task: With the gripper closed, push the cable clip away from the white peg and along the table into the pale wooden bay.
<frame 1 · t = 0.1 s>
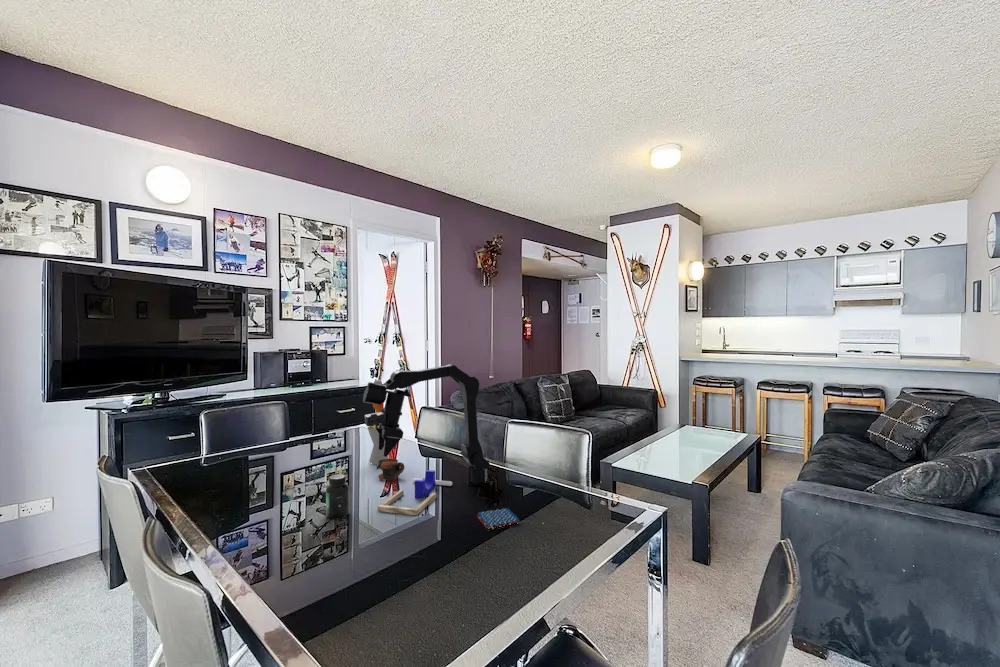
hand: (382, 453, 158), 15 cm above the table, tool pointing down, fingers open, 9 cm apart
woven mat: (497, 523, 139), on the table
cable clip: (423, 493, 164), on the table
pottery mug: (390, 477, 180), on the table
white peg: (432, 484, 172), on the table
supplement bottle: (338, 515, 144), on the table
wooden bay: (408, 503, 153), on the table
lava lamp: (379, 462, 201), on the table
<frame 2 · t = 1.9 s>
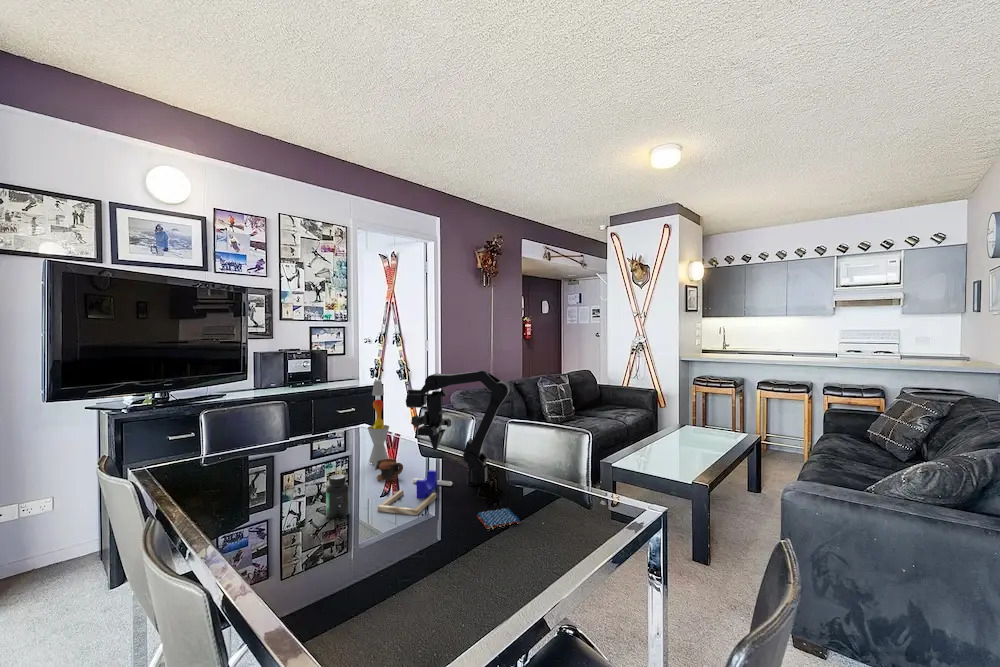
hand: (435, 449, 174), 12 cm above the table, tool pointing down, fingers closed
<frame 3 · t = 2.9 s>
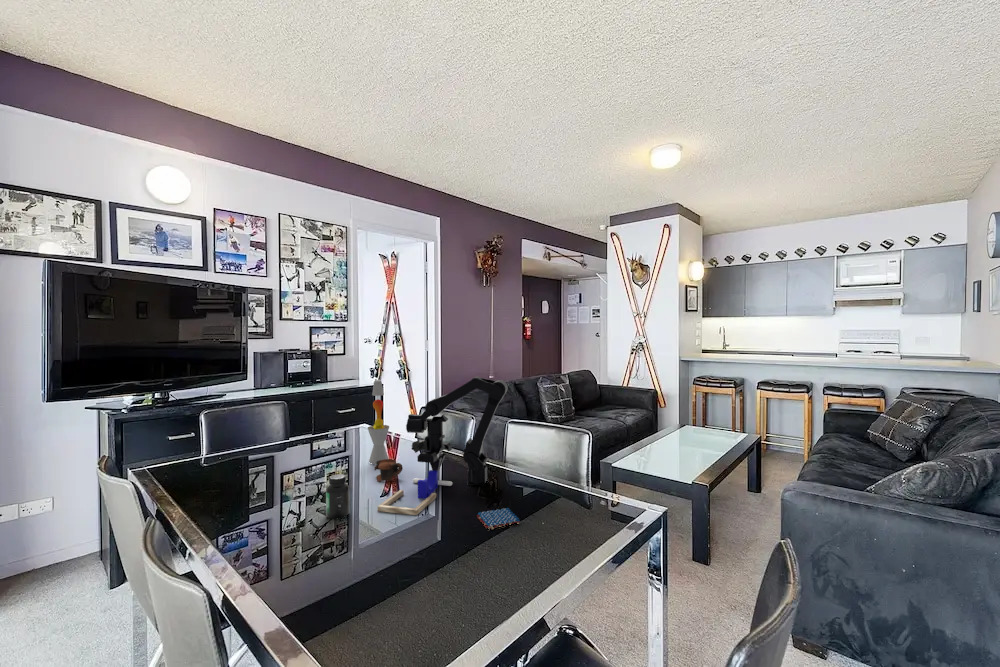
hand: (435, 474, 174), 3 cm above the table, tool pointing down, fingers closed
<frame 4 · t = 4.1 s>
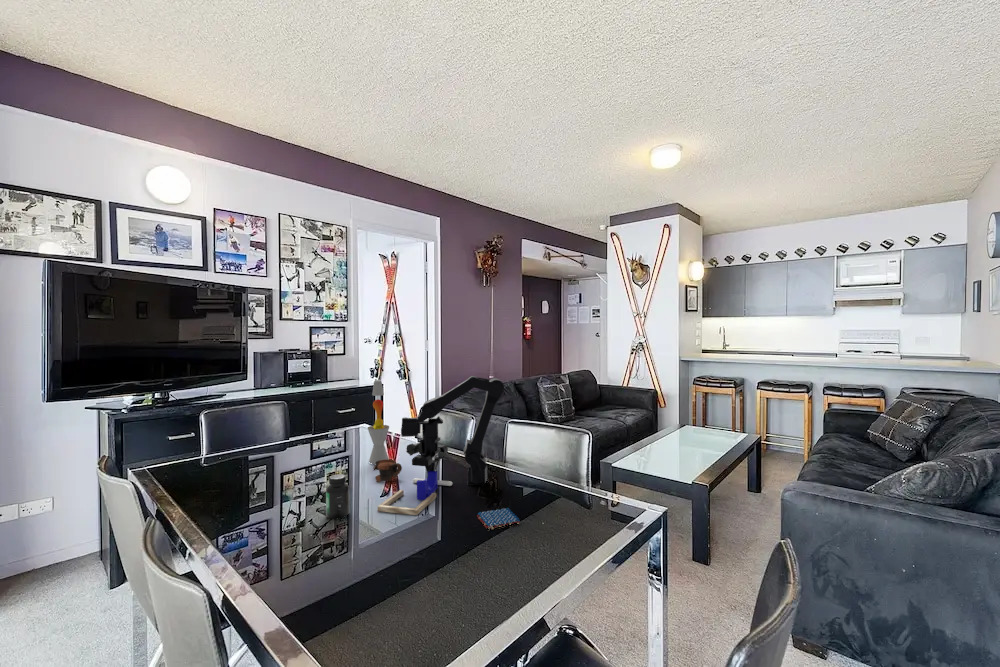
hand: (431, 478, 171), 3 cm above the table, tool pointing down, fingers closed
cable clip: (425, 493, 162), on the table, touching gripper
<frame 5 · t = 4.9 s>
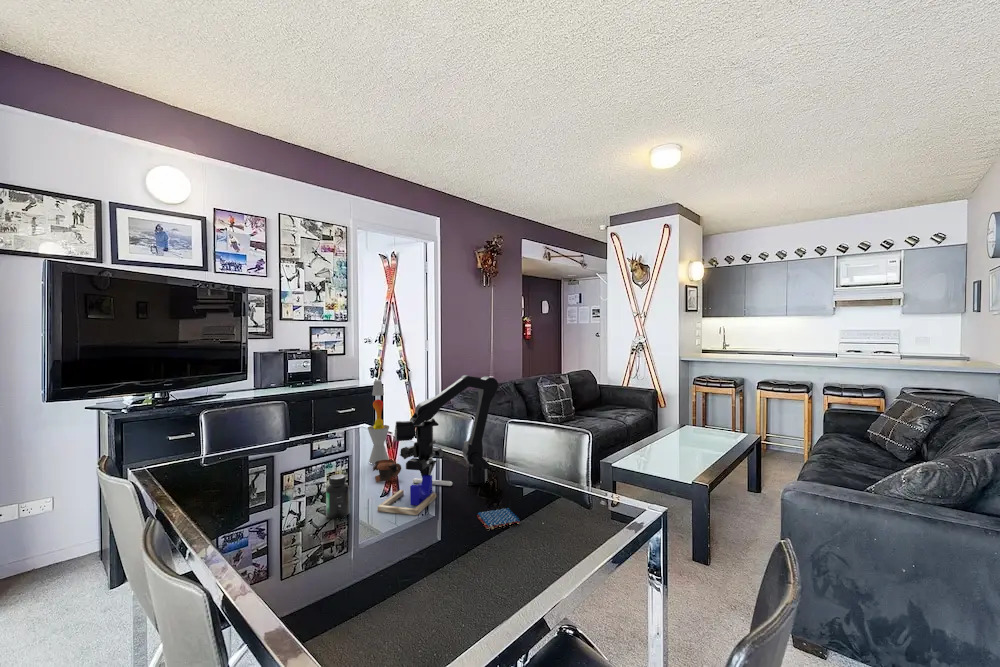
hand: (425, 482, 166), 3 cm above the table, tool pointing down, fingers closed
cable clip: (419, 498, 158), on the table, touching gripper
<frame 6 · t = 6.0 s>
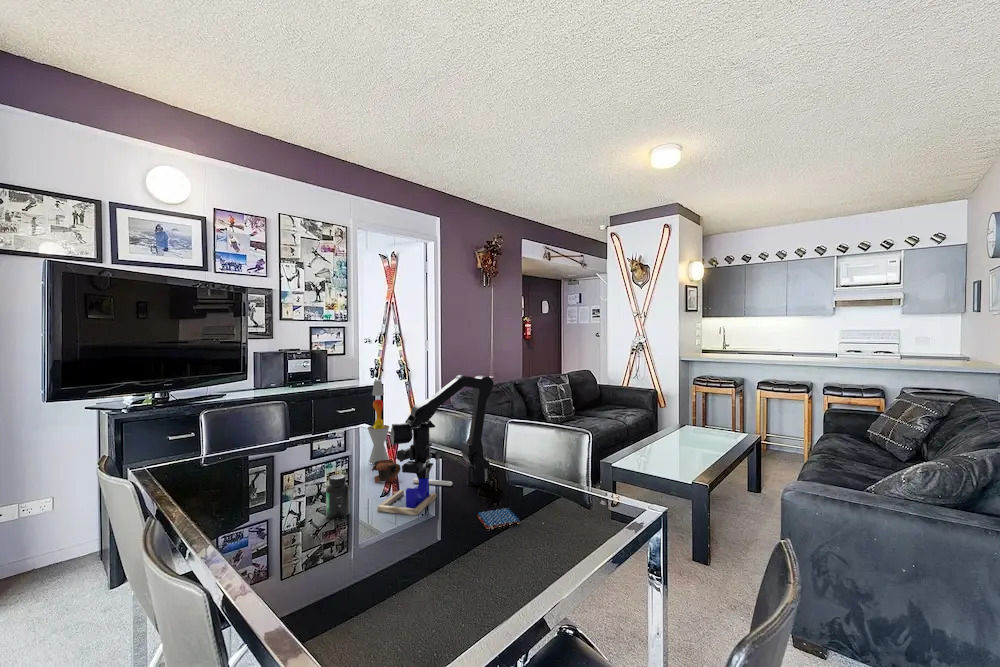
hand: (422, 485, 163), 2 cm above the table, tool pointing down, fingers closed
cable clip: (415, 502, 155), on the table, touching gripper
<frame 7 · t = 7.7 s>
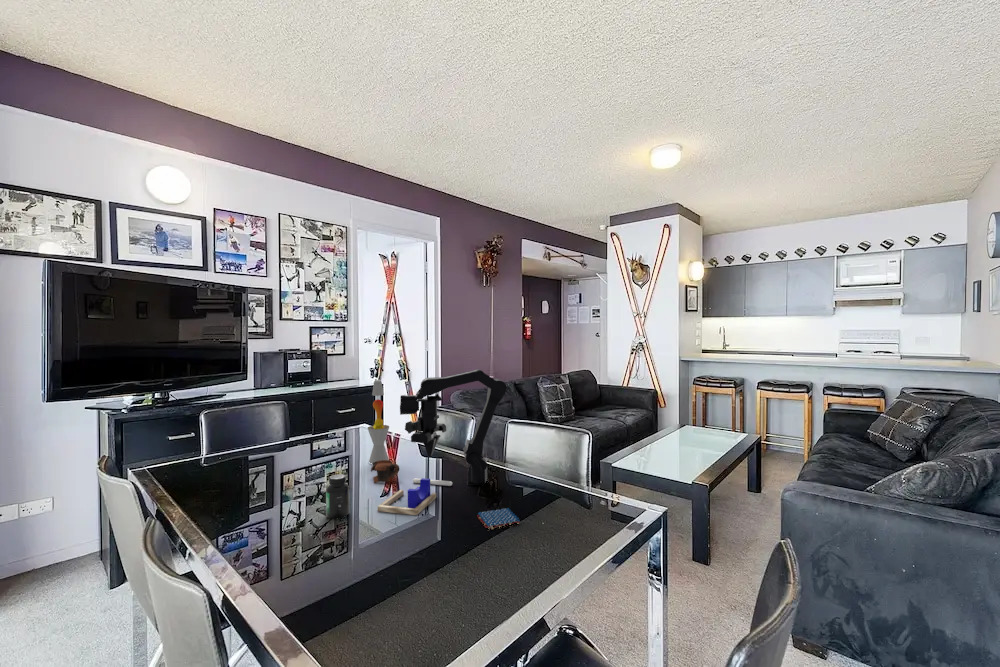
hand: (429, 456, 169), 11 cm above the table, tool pointing down, fingers closed
cable clip: (417, 502, 155), on the table
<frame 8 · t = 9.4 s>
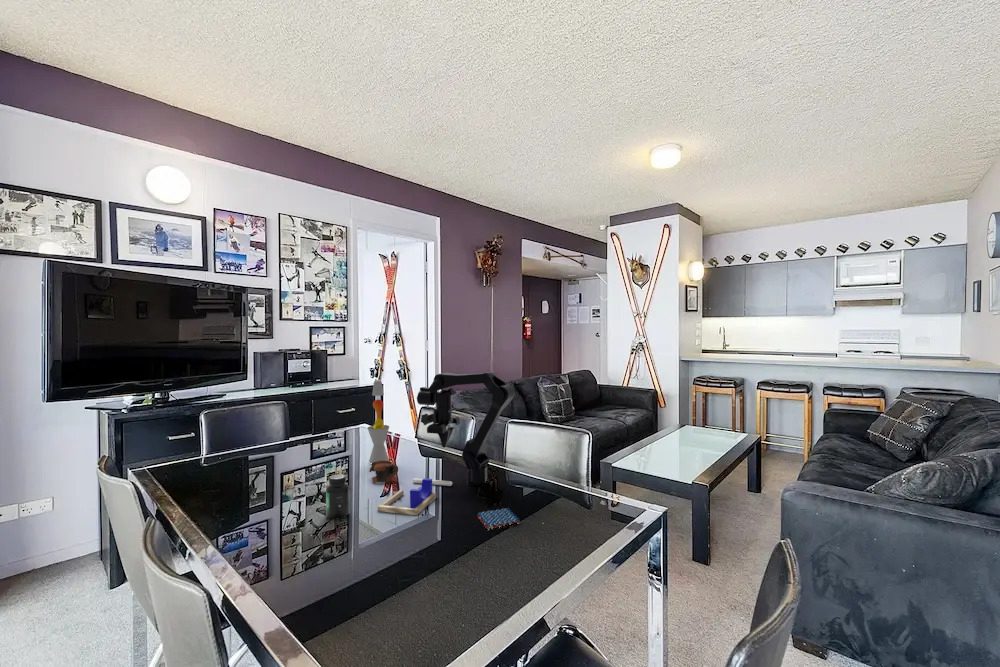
hand: (444, 447, 178), 12 cm above the table, tool pointing down, fingers closed
at the end: cable clip inside the target area on the wooden bay (3.0 cm from its centre), point 0.0 cm above the wooden bay's base; cable clip moved 9.3 cm from its start; cable clip tilted 0° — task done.
